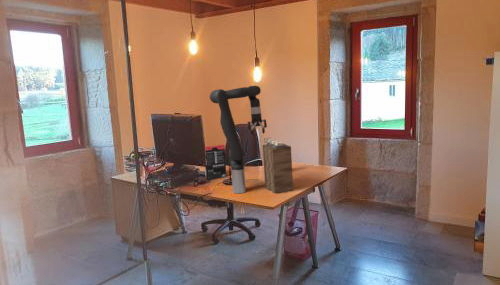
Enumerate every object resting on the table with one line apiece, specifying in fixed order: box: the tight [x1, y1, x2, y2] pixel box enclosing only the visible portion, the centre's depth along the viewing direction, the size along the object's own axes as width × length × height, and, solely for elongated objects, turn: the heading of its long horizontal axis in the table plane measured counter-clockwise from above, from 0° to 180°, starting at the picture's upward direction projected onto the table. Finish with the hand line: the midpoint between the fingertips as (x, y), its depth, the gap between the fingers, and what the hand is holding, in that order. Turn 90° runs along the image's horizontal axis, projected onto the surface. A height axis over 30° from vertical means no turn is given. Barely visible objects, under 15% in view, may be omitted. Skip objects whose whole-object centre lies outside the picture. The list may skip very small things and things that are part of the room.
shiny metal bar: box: [263, 137, 283, 146], centre depth 277 cm, size 24×4×3 cm, turn 20°
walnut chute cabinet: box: [262, 142, 294, 194], centre depth 275 cm, size 18×14×34 cm
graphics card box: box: [204, 144, 227, 180], centre depth 316 cm, size 17×7×27 cm, turn 109°
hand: (258, 134), depth 288 cm, fingers open, 8 cm apart
